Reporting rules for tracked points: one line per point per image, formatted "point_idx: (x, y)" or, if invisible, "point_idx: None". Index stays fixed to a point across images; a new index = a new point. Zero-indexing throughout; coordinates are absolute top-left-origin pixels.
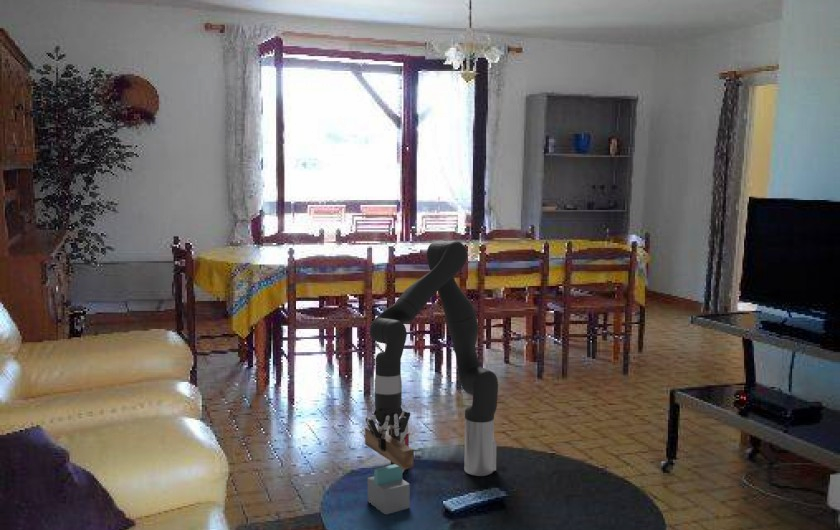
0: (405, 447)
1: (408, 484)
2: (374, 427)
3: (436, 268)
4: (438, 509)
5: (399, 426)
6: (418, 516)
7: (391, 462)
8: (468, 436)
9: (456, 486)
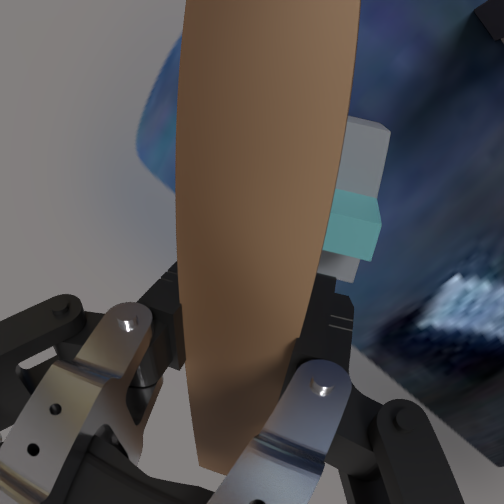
0: (234, 464)
1: (346, 281)
2: (14, 409)
3: None
4: (403, 299)
5: (398, 458)
6: None
7: (494, 1)
8: None
9: None
